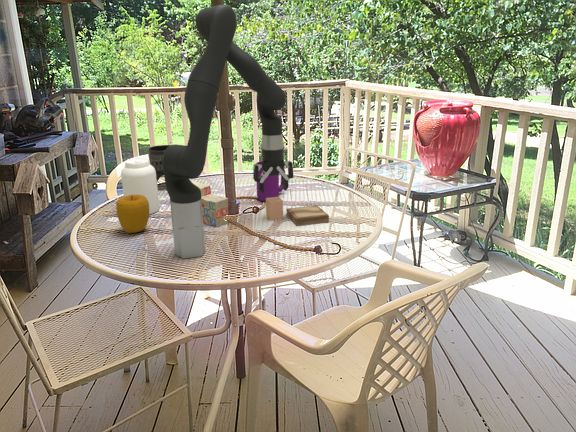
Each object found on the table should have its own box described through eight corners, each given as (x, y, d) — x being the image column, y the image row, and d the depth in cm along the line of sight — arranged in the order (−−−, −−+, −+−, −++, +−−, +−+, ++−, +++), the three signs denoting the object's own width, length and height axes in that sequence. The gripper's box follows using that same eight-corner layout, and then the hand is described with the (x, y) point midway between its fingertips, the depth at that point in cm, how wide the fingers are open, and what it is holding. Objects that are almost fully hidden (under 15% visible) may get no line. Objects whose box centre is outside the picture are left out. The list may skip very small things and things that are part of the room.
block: (282, 219, 181) (282, 200, 178) (269, 220, 179) (269, 202, 177) (279, 214, 185) (278, 196, 183) (266, 216, 184) (265, 198, 181)
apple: (142, 238, 165) (138, 201, 160) (112, 236, 167) (107, 199, 162) (157, 226, 175) (153, 191, 171) (128, 224, 177) (124, 189, 172)
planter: (158, 182, 227) (154, 144, 221) (185, 183, 226) (182, 145, 220) (147, 191, 215) (142, 150, 209) (175, 192, 214) (171, 151, 208)
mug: (252, 199, 202) (250, 163, 197) (276, 190, 214) (275, 156, 209) (269, 203, 197) (268, 167, 192) (293, 194, 208) (293, 159, 203)
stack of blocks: (229, 222, 178) (227, 189, 173) (216, 227, 173) (214, 194, 169) (191, 210, 191) (189, 179, 187) (178, 214, 186) (175, 183, 182)
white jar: (166, 209, 192) (161, 158, 185) (140, 218, 182) (133, 165, 175) (145, 203, 199) (139, 154, 192) (119, 212, 189) (112, 161, 182)
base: (328, 222, 177) (328, 215, 176) (296, 225, 174) (296, 218, 173) (317, 211, 188) (317, 204, 187) (286, 215, 184) (286, 208, 183)
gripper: (255, 150, 168) (257, 196, 174) (295, 147, 172) (295, 192, 178) (250, 146, 175) (252, 190, 180) (288, 143, 179) (289, 186, 184)
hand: (273, 191), depth 179 cm, fingers open, 8 cm apart
